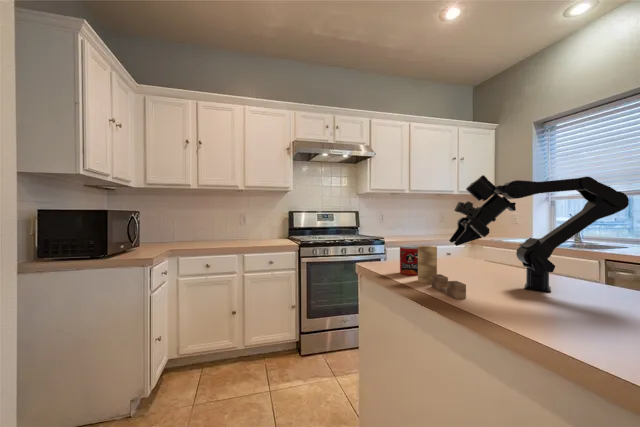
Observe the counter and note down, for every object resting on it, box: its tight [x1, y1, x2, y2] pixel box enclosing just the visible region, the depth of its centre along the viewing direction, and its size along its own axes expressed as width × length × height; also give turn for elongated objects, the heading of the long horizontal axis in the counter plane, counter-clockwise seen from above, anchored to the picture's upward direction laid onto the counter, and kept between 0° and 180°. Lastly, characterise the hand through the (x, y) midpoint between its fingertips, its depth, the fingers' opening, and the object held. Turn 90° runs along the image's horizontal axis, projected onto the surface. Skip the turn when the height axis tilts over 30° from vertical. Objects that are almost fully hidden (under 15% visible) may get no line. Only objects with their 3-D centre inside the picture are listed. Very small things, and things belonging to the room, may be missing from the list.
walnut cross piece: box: [431, 273, 467, 300], centre depth 86 cm, size 13×3×4 cm, turn 7°
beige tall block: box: [417, 244, 438, 284], centre depth 99 cm, size 6×3×12 cm, turn 74°
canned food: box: [399, 244, 418, 277], centre depth 112 cm, size 8×8×11 cm
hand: (452, 243), depth 97 cm, fingers open, 9 cm apart
